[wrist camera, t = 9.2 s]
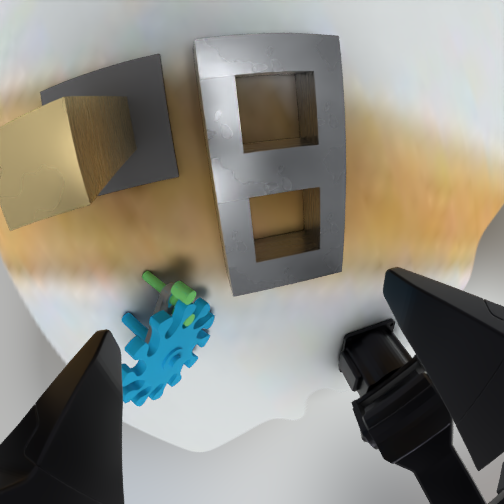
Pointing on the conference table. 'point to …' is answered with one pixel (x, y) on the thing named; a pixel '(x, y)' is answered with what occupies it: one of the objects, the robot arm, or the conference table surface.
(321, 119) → the grey cinder block
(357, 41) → the conference table surface
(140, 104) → the rubber pad
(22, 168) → the brass peg
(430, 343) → the robot arm
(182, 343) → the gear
